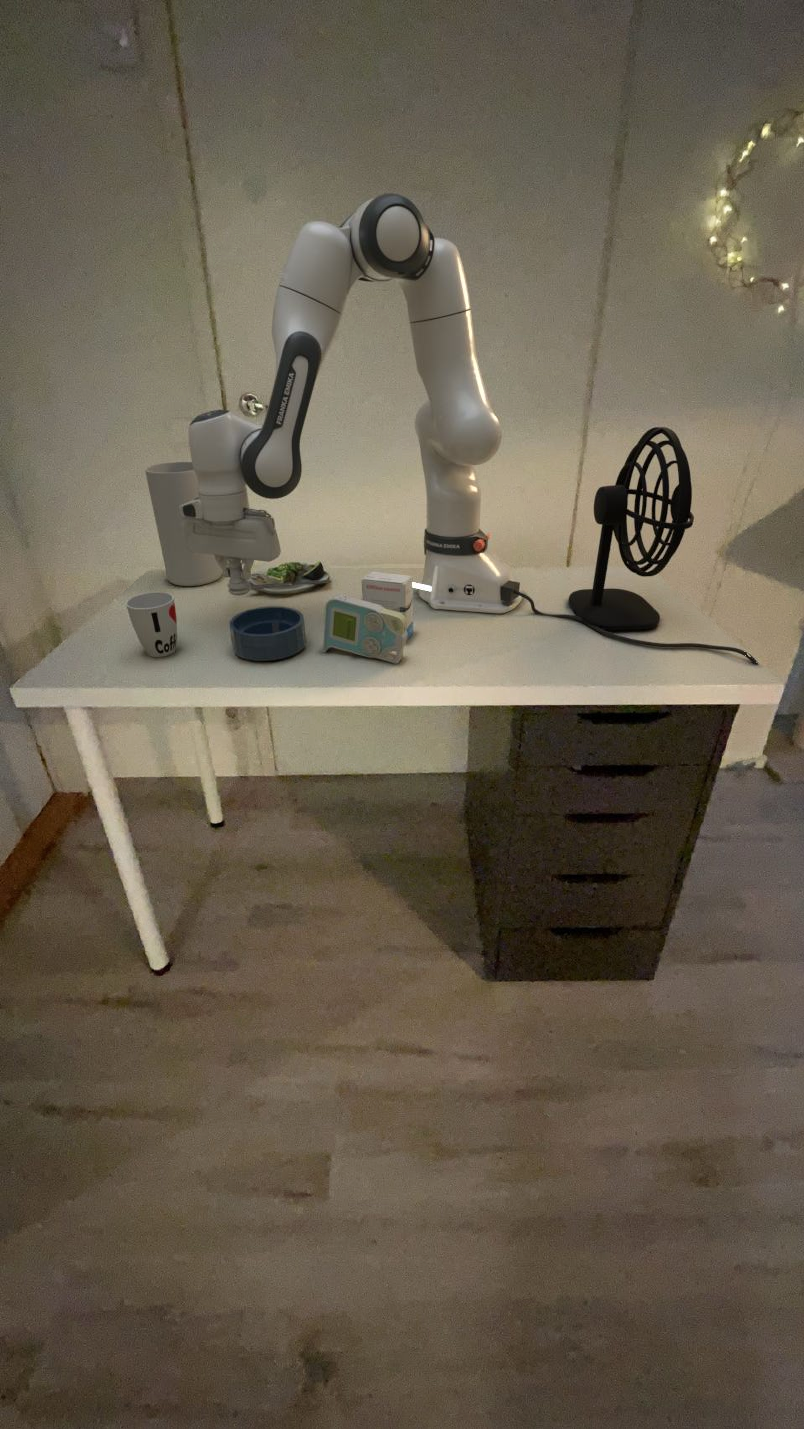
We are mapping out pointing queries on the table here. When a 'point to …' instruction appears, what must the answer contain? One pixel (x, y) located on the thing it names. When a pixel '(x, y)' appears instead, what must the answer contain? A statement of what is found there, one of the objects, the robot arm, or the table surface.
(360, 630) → the handheld gaming console
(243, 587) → the rook chess piece
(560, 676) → the table surface
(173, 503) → the cylinder vase
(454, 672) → the table surface
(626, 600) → the desk fan
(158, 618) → the cup
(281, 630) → the bowl
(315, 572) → the salad plate
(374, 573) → the ink box
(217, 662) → the table surface
